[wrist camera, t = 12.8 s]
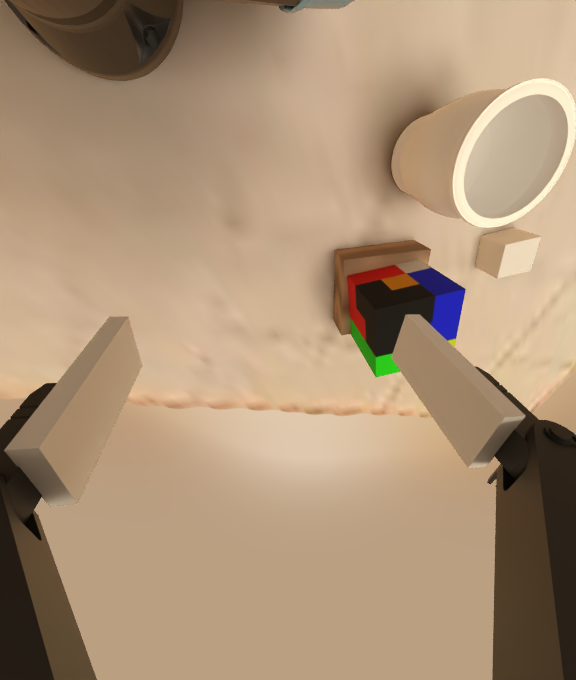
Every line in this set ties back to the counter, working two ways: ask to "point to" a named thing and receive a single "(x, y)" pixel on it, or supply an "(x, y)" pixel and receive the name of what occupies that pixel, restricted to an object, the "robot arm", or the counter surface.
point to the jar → (488, 152)
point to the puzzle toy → (399, 308)
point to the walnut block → (364, 261)
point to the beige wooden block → (507, 252)
